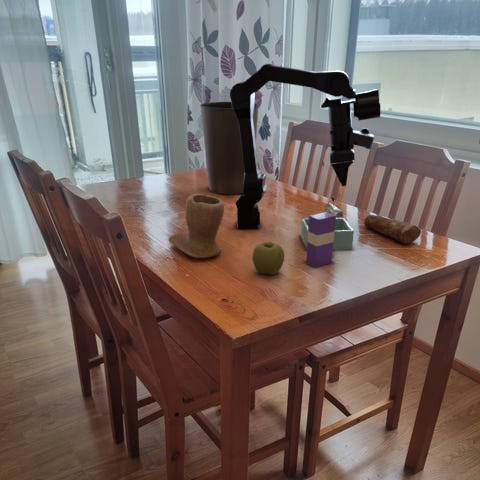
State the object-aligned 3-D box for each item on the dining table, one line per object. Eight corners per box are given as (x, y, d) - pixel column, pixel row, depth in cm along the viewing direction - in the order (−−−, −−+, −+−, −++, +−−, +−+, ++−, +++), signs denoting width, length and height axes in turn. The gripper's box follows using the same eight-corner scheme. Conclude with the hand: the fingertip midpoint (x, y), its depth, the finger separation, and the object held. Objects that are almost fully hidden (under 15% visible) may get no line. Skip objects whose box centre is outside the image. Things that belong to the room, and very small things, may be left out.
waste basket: (196, 182, 191) (192, 101, 176) (243, 178, 197) (243, 100, 182) (215, 200, 169) (212, 109, 154) (267, 195, 175) (269, 106, 160)
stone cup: (233, 255, 124) (232, 199, 117) (193, 265, 119) (189, 206, 111) (205, 238, 135) (203, 186, 128) (168, 246, 130) (163, 192, 123)
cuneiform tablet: (334, 217, 151) (351, 229, 141) (321, 221, 151) (337, 233, 141) (331, 196, 148) (349, 206, 138) (318, 200, 147) (335, 210, 137)
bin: (306, 250, 127) (308, 231, 124) (300, 236, 137) (301, 218, 134) (351, 249, 127) (353, 230, 125) (342, 235, 137) (344, 217, 134)
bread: (403, 247, 128) (407, 227, 126) (359, 227, 143) (362, 209, 141) (421, 243, 131) (425, 224, 128) (376, 224, 146) (378, 206, 143)
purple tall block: (305, 262, 120) (309, 215, 114) (322, 258, 122) (326, 211, 116) (314, 267, 117) (318, 219, 111) (331, 263, 120) (336, 215, 113)
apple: (260, 281, 110) (261, 253, 107) (246, 268, 117) (246, 241, 113) (289, 276, 113) (290, 248, 109) (274, 263, 119) (274, 237, 116)
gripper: (373, 123, 116) (375, 186, 123) (369, 114, 132) (371, 170, 139) (327, 130, 119) (332, 191, 126) (329, 120, 135) (333, 175, 142)
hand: (344, 182), depth 133 cm, fingers open, 9 cm apart
